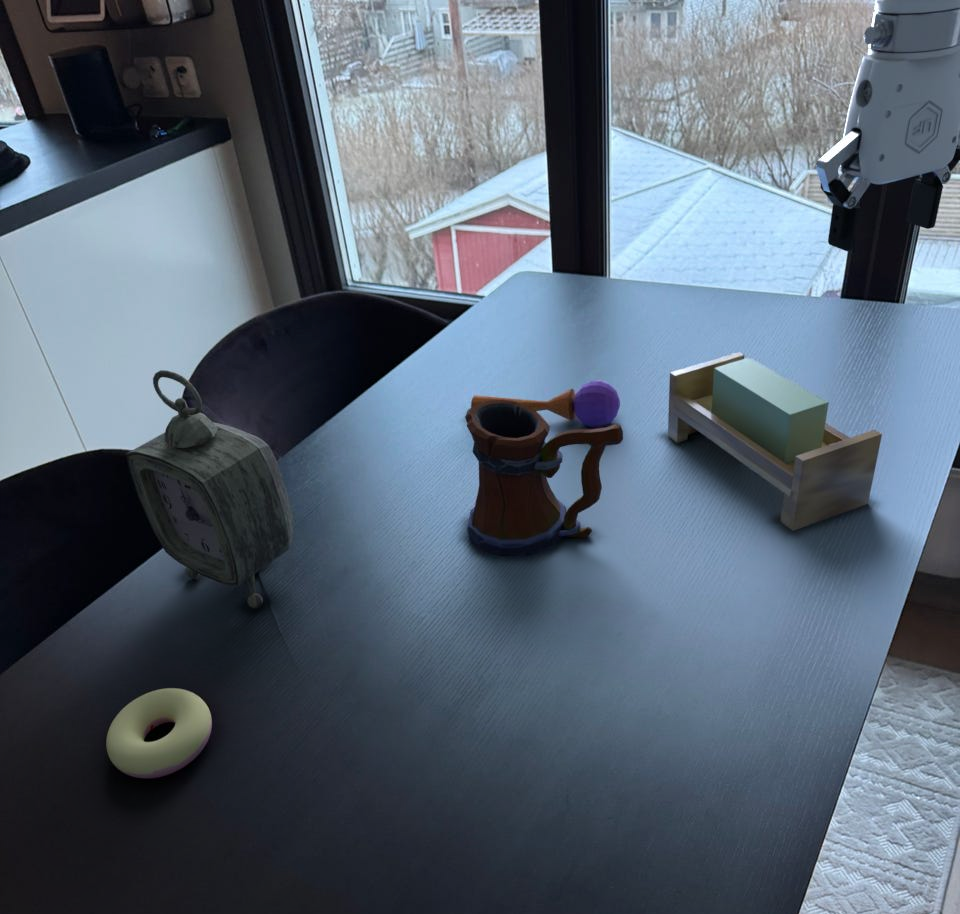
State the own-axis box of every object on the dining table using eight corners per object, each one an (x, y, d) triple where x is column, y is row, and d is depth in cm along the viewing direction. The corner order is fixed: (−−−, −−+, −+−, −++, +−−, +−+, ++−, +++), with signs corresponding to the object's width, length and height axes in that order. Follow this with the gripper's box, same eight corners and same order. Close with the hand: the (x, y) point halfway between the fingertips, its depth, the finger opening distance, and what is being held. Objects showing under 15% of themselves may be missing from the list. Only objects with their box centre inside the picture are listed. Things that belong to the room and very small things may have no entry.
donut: (223, 719, 89) (125, 721, 89) (217, 679, 87) (117, 681, 86) (205, 785, 81) (96, 788, 80) (198, 744, 78) (86, 746, 78)
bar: (745, 403, 112) (750, 356, 108) (821, 451, 102) (829, 402, 98) (710, 414, 111) (713, 367, 107) (783, 464, 100) (790, 414, 97)
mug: (634, 516, 105) (635, 394, 95) (608, 575, 97) (607, 449, 87) (488, 498, 111) (475, 383, 101) (452, 553, 103) (435, 433, 93)
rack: (733, 417, 120) (739, 351, 114) (867, 506, 101) (882, 433, 96) (667, 438, 117) (669, 372, 111) (792, 533, 99) (802, 460, 93)
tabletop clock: (172, 581, 104) (89, 375, 88) (232, 541, 110) (163, 339, 93) (256, 622, 97) (183, 406, 81) (316, 577, 102) (258, 365, 86)
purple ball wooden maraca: (479, 380, 127) (622, 374, 120) (484, 422, 130) (624, 419, 123) (465, 392, 122) (613, 386, 115) (470, 435, 125) (615, 432, 118)
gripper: (865, 54, 75) (834, 266, 86) (1028, 19, 79) (978, 226, 90) (806, 45, 80) (784, 246, 92) (961, 12, 84) (922, 208, 96)
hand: (880, 236), depth 91 cm, fingers open, 9 cm apart
